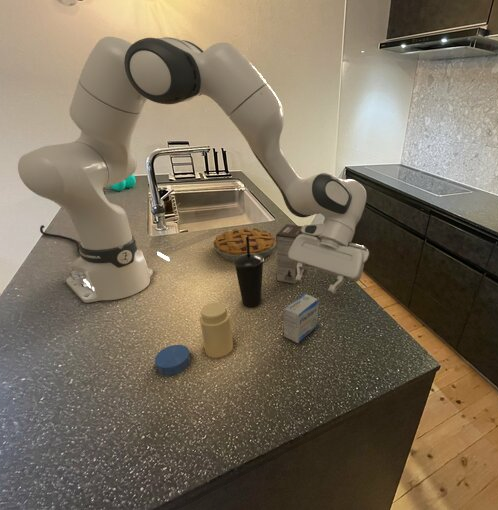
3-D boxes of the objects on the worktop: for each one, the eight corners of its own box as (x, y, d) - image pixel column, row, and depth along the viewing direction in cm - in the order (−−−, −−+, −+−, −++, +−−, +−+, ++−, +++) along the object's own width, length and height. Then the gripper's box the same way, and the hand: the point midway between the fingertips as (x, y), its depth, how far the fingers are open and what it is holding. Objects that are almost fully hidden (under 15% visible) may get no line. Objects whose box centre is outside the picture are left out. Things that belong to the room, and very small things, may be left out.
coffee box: (286, 267, 104) (286, 223, 96) (304, 270, 103) (306, 226, 95) (276, 280, 96) (275, 234, 88) (296, 284, 95) (296, 237, 87)
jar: (199, 354, 67) (192, 315, 62) (214, 336, 72) (208, 298, 67) (224, 360, 66) (219, 320, 61) (237, 341, 71) (234, 303, 66)
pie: (264, 234, 126) (263, 222, 124) (285, 256, 110) (285, 244, 108) (208, 242, 115) (206, 230, 113) (222, 269, 99) (221, 256, 97)
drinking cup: (240, 313, 80) (234, 245, 71) (235, 298, 86) (228, 233, 77) (269, 307, 84) (266, 241, 74) (261, 292, 89) (258, 229, 80)
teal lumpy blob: (107, 190, 160) (101, 171, 155) (122, 185, 168) (117, 167, 164) (124, 192, 159) (119, 173, 154) (138, 188, 167) (134, 169, 163)
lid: (173, 379, 61) (171, 371, 60) (149, 368, 63) (147, 361, 62) (197, 358, 66) (195, 350, 65) (175, 348, 68) (173, 341, 67)
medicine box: (298, 344, 72) (298, 315, 68) (283, 336, 74) (283, 307, 70) (317, 326, 78) (319, 299, 74) (303, 319, 80) (304, 292, 76)
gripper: (373, 252, 79) (355, 302, 76) (306, 234, 86) (286, 278, 83) (369, 243, 73) (349, 296, 70) (297, 224, 81) (276, 271, 77)
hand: (314, 286), depth 76 cm, fingers open, 8 cm apart
